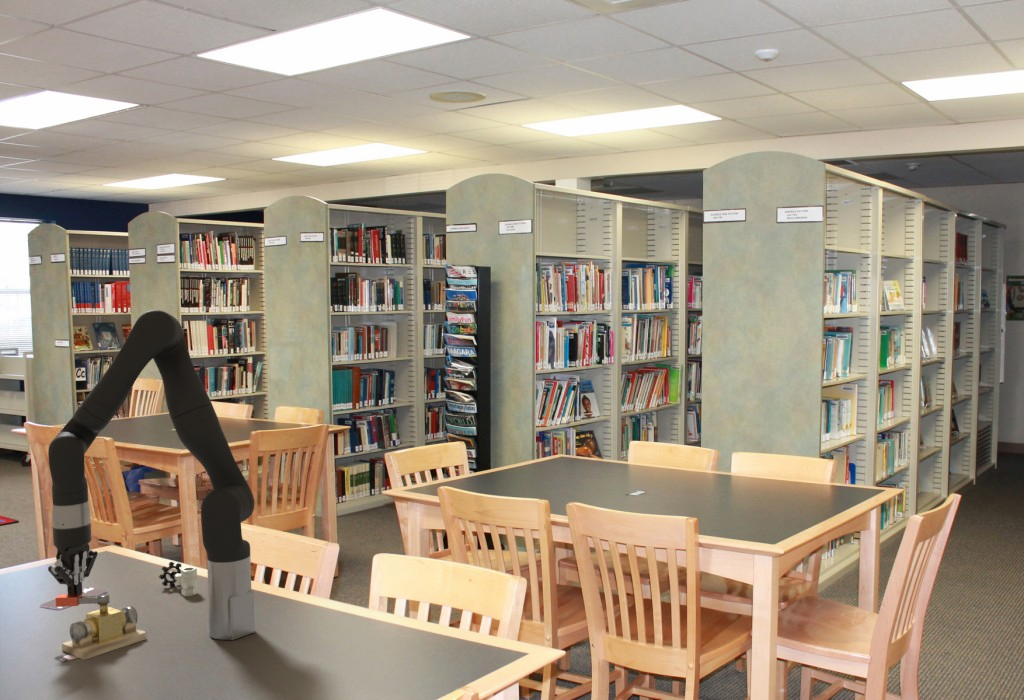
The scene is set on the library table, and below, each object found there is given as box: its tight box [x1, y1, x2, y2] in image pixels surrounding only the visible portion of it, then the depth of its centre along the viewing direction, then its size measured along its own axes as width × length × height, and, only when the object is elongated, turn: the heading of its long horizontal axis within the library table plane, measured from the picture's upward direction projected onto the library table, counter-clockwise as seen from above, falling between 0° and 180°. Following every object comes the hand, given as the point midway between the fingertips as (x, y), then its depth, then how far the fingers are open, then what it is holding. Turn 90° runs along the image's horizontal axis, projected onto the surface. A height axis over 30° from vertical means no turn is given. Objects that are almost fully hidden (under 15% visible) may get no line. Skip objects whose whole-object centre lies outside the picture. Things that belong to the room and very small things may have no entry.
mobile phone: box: [39, 587, 108, 611], centre depth 221 cm, size 8×1×15 cm
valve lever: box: [55, 593, 111, 607], centre depth 190 cm, size 11×2×2 cm, turn 91°
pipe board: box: [61, 622, 147, 660], centre depth 190 cm, size 9×14×4 cm, turn 144°
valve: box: [158, 561, 199, 597], centre depth 227 cm, size 7×7×12 cm
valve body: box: [69, 603, 139, 644], centre depth 190 cm, size 5×13×8 cm, turn 144°
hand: (75, 599), depth 193 cm, fingers closed
